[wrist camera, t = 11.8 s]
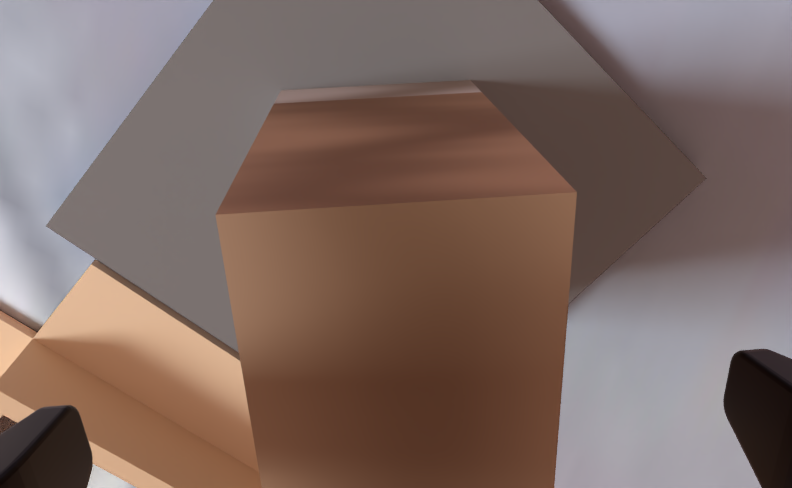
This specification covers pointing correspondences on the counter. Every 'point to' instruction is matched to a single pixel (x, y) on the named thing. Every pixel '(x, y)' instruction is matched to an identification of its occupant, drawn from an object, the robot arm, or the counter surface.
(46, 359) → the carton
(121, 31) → the counter surface
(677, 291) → the counter surface
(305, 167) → the walnut box
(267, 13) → the rubber mat
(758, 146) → the counter surface
